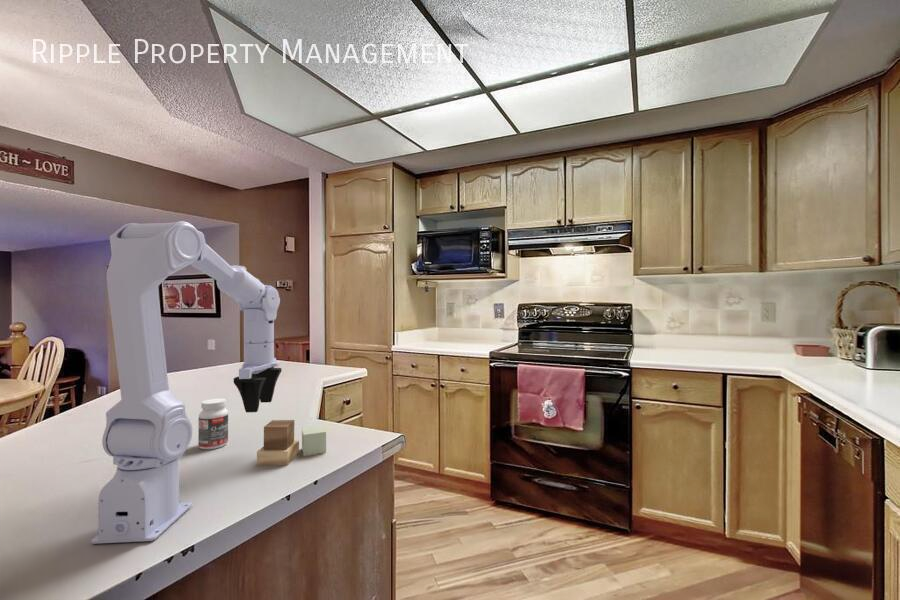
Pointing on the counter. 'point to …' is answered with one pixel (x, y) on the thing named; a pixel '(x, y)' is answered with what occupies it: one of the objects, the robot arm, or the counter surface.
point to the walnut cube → (278, 434)
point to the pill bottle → (213, 424)
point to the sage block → (313, 440)
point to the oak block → (277, 455)
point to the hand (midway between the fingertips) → (259, 406)
